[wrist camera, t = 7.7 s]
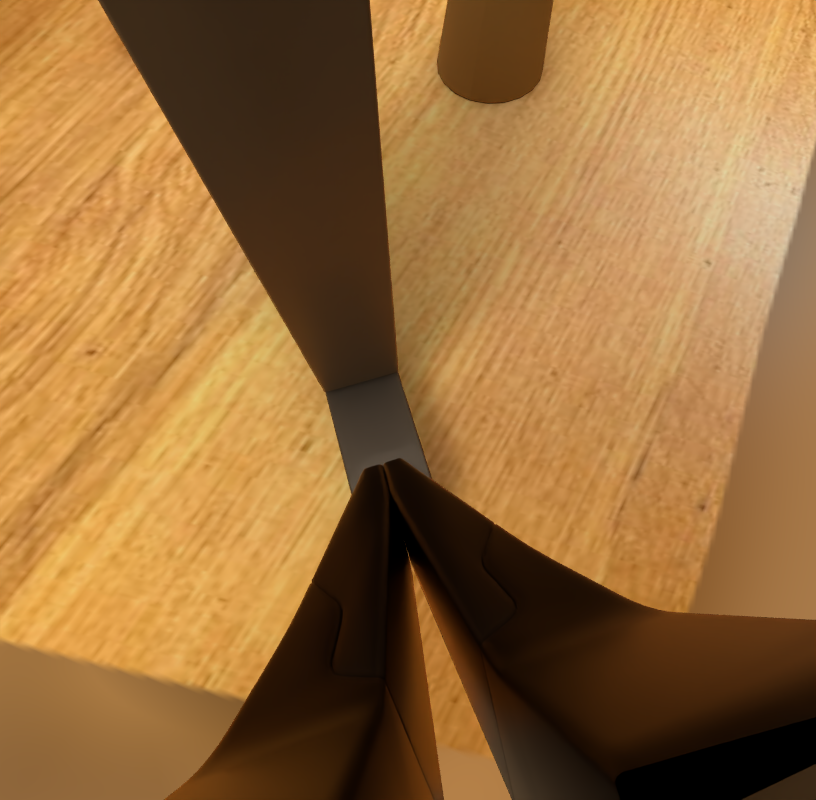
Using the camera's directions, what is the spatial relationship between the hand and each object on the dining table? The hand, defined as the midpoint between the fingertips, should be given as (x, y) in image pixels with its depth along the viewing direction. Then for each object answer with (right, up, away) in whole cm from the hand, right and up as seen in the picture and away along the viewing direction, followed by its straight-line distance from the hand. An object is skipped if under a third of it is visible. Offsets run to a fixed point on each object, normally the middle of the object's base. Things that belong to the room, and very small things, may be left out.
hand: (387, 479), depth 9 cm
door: (-3, +7, +9) cm, 11 cm away
